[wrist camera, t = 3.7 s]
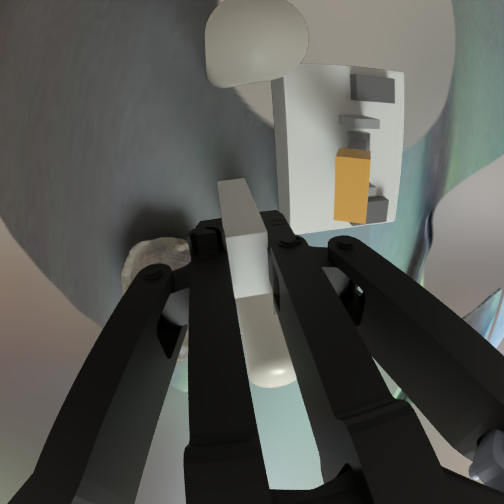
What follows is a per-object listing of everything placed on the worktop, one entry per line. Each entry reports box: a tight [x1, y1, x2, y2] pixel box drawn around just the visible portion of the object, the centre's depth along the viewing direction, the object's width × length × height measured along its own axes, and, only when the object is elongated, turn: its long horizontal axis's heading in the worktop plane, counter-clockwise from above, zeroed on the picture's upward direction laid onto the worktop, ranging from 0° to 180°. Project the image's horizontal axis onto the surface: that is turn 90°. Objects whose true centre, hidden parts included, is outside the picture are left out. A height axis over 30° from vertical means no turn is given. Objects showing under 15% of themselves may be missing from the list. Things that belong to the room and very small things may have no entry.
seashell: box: [121, 237, 191, 362], centre depth 32 cm, size 9×12×15 cm
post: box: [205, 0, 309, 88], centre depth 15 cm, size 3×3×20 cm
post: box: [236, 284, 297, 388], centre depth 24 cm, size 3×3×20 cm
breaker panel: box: [271, 63, 404, 235], centre depth 25 cm, size 16×12×8 cm
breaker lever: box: [333, 131, 371, 224], centre depth 20 cm, size 4×2×10 cm, turn 5°
